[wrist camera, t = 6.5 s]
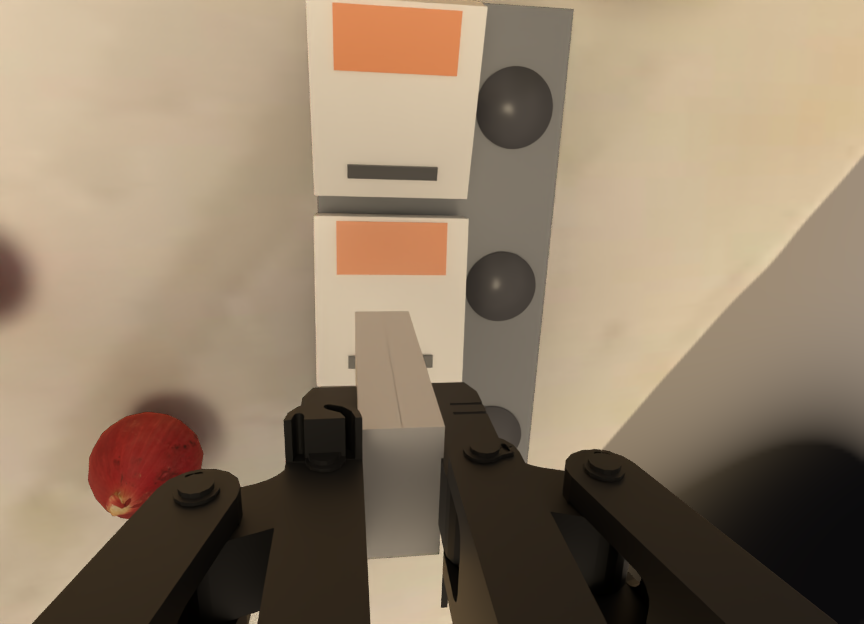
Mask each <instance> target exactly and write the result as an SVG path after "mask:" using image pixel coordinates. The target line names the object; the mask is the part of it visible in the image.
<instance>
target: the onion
mask: <svg viewBox="0 0 864 624" xmlns="http://www.w3.org/2000/svg"><path fill="white" fill-rule="evenodd" d="M202 459H203V451H202V448H201V445H200V443H199V440H198V437H197V435H196V434H195V433H194V432H193V431H192V430H191V429H190V428H189V427H188V426H186V425H185V424H184V423H183V422H182V421H180V420H178V419H176V418H174V417H172V416H169V415H167V414H161V413H154V412H143V413H139V414H135V415H130V416H126V417H124V418H123V419H121V420H119V421H118V422H116V423H115V424H113V425H112V426H110V427H109V428H108V429H107V430H105V431H104V432H103V433H102V434H101V436H100V438H99V440H98V441H97V443H96V445H95V446H94V448H93V450H92V453H91V455H90V457H89V474H88V482H89V485H90V487H91V489H92V492H93V494H94V496H95V498H96V499H97V501H98V502H99V503H100V504H101V505H102V506H103V507H104V508H105V509H106V511H108V512H110V513H111V514H112V516H118V517H120V518H125V519H129V518H130V517H131V516H132V515H133V514H134V513H135V512H136V511H137V510H138V509H139V508H140V507H141V506H142V504H143V503H144V502H145V501H146V500H147V499H148V498H149V497H150V496H151V495H152V494H153V493H154V492H155V490H156V489H157V488H159V487H160V486H161V485H162V484H164V483H165V482H166V481H168V480H169V479H171V478H174V477H176V476H178V475H181V474H183V473H186V472H189V471H194V470H199V469H201V465H202Z"/></svg>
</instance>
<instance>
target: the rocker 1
mask: <svg viewBox="0 0 864 624" xmlns="http://www.w3.org/2000/svg"><path fill="white" fill-rule="evenodd" d="M487 9H488V7H487V6H486V5H484V4H483V3H481V2H479V1H468V0H306V21H307V44H308V66H309V89H310V112H311V135H312V158H313V181H314V196H355V197H399V198H442V199H467V195H468V185H469V176H470V167H471V157H472V148H473V139H474V129H475V120H476V111H477V102H478V92H479V83H480V74H481V64H482V55H483V46H484V37H485V27H486V18H487Z"/></svg>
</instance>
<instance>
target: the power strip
mask: <svg viewBox="0 0 864 624" xmlns="http://www.w3.org/2000/svg"><path fill="white" fill-rule="evenodd" d="M483 4H484V5H486V6H487V7H488V9H487V18H486V27H485V37H484V46H483V55H482V64H481V74H480V83H479V92H478V102H477V111H476V120H475V129H474V139H473V148H472V157H471V167H470V176H469V185H468V195H467V199H442V198H399V197H355V196H318V213H342V214H394V215H445V216H463V217H465V218H468V219H469V225H468V250H467V274H466V298H465V322H464V347H463V371H462V382H464V383H466V384H467V385H469V386H470V387H471V388H473V389H474V390H476V391H477V393H478V395H479V397H480V399H481V401H482V404H483V405H484V408H485V410H486V413H487V414H488V416H489V418H490V420H491V422H492V424H493V427H494V429H495V431H496V433H497V435H498V437H499V438H501V439H504V440H506V441H508V442H509V443H511V444H513V445H514V446H515V447H516V448H517V449H518V451H519V452H520V454H521V456H522V458H523V459H524V461H525V463H526V464H527V459H528V450H529V440H530V430H531V420H532V411H533V401H534V391H535V381H536V372H537V362H538V352H539V342H540V333H541V323H542V313H543V303H544V294H545V284H546V274H547V264H548V255H549V245H550V235H551V225H552V216H553V206H554V196H555V186H556V177H557V167H558V157H559V147H560V138H561V128H562V118H563V108H564V99H565V89H566V79H567V69H568V60H569V50H570V40H571V30H572V21H573V11H574V9H564V8H549V7H534V6H519V5H504V4H490V3H483Z"/></svg>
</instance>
